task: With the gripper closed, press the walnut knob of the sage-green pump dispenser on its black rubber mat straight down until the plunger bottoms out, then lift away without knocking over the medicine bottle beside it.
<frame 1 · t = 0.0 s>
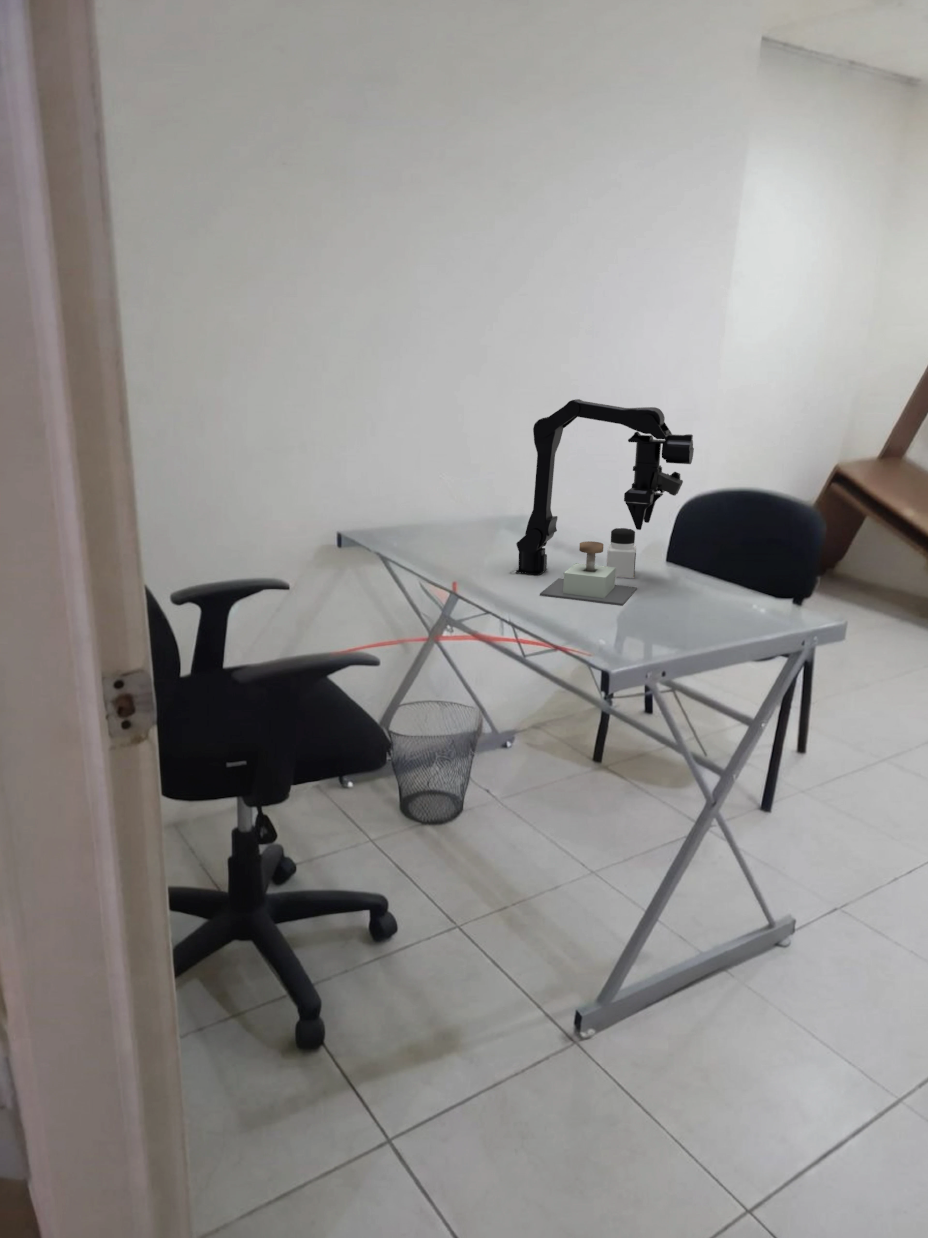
hand: (642, 525, 211), 15 cm above the table, tool pointing down, fingers open, 9 cm apart
press base: (589, 592, 208), on the table
plunger: (590, 557, 205), point 9 cm above the table, slide at 4.5 cm
medicine bottle: (620, 575, 224), on the table
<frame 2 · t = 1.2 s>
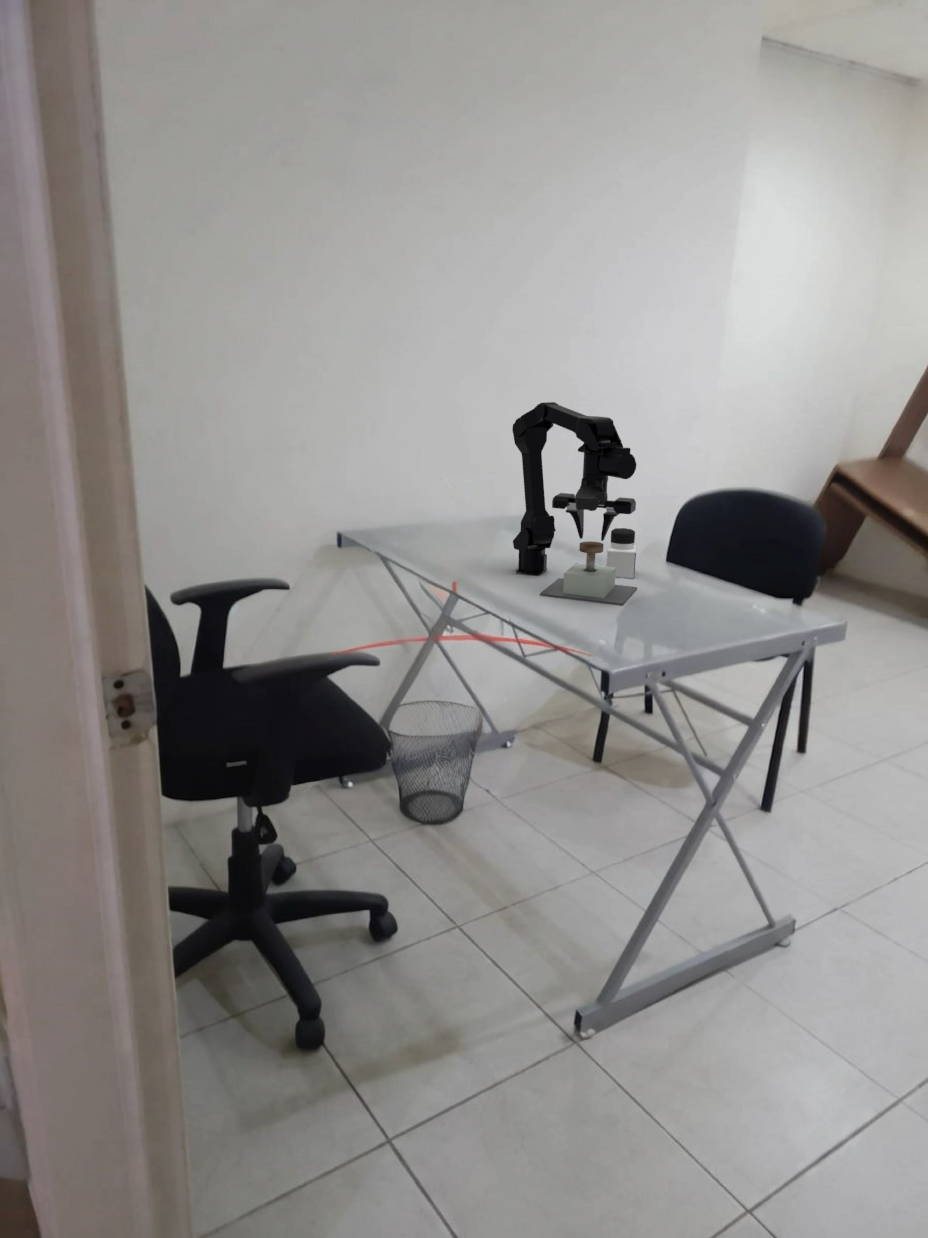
hand: (591, 539, 204), 13 cm above the table, tool pointing down, fingers open, 5 cm apart
nothing on the table moved.
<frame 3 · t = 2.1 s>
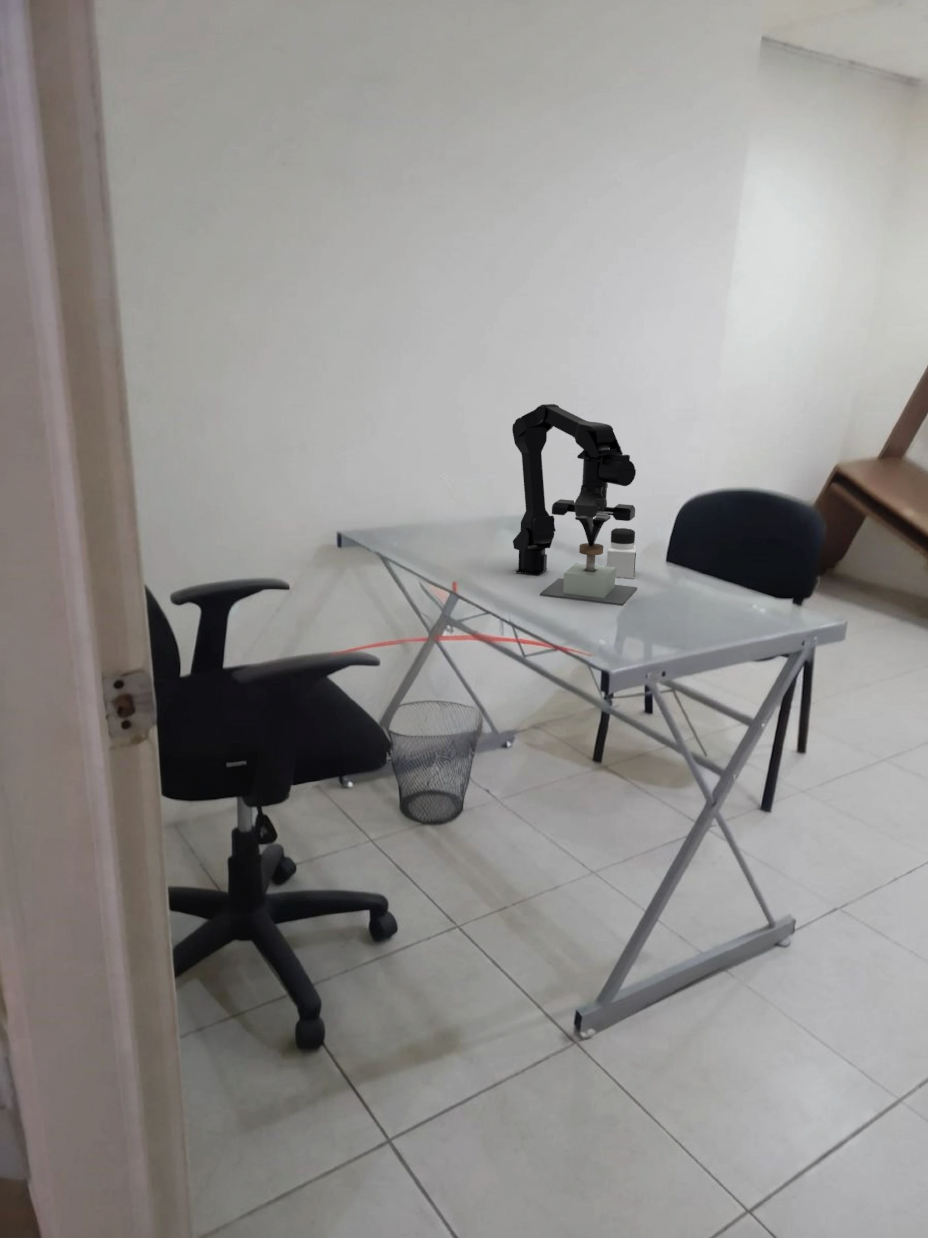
hand: (591, 545, 204), 11 cm above the table, tool pointing down, fingers closed, pressing on plunger
plunger: (590, 559, 205), point 8 cm above the table, slide at 4.1 cm, touching gripper
everything else where it was.
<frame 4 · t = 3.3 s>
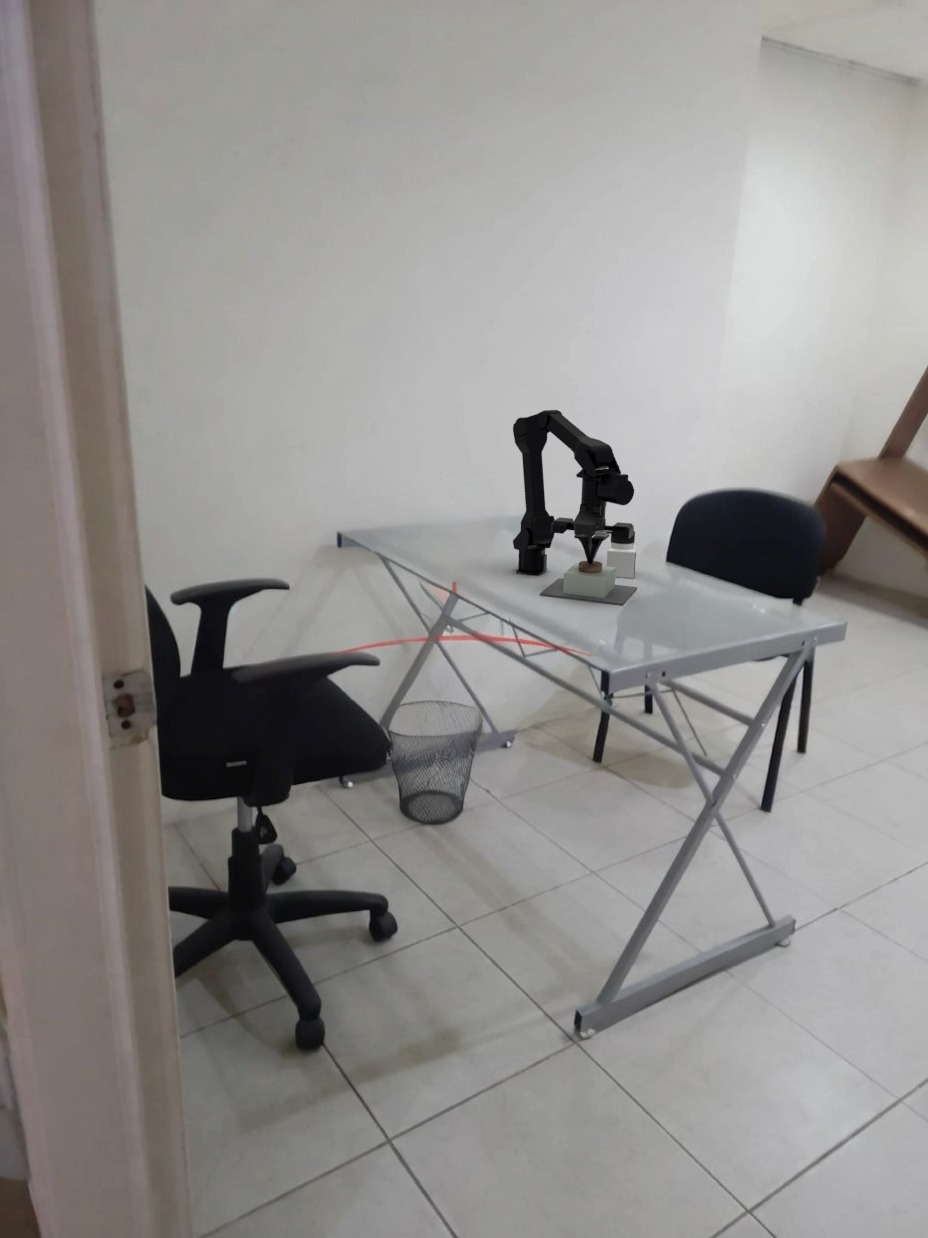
hand: (590, 563, 206), 7 cm above the table, tool pointing down, fingers closed, pressing on plunger
plunger: (589, 576, 207), point 4 cm above the table, slide at -0.3 cm, touching gripper
everything else where it was.
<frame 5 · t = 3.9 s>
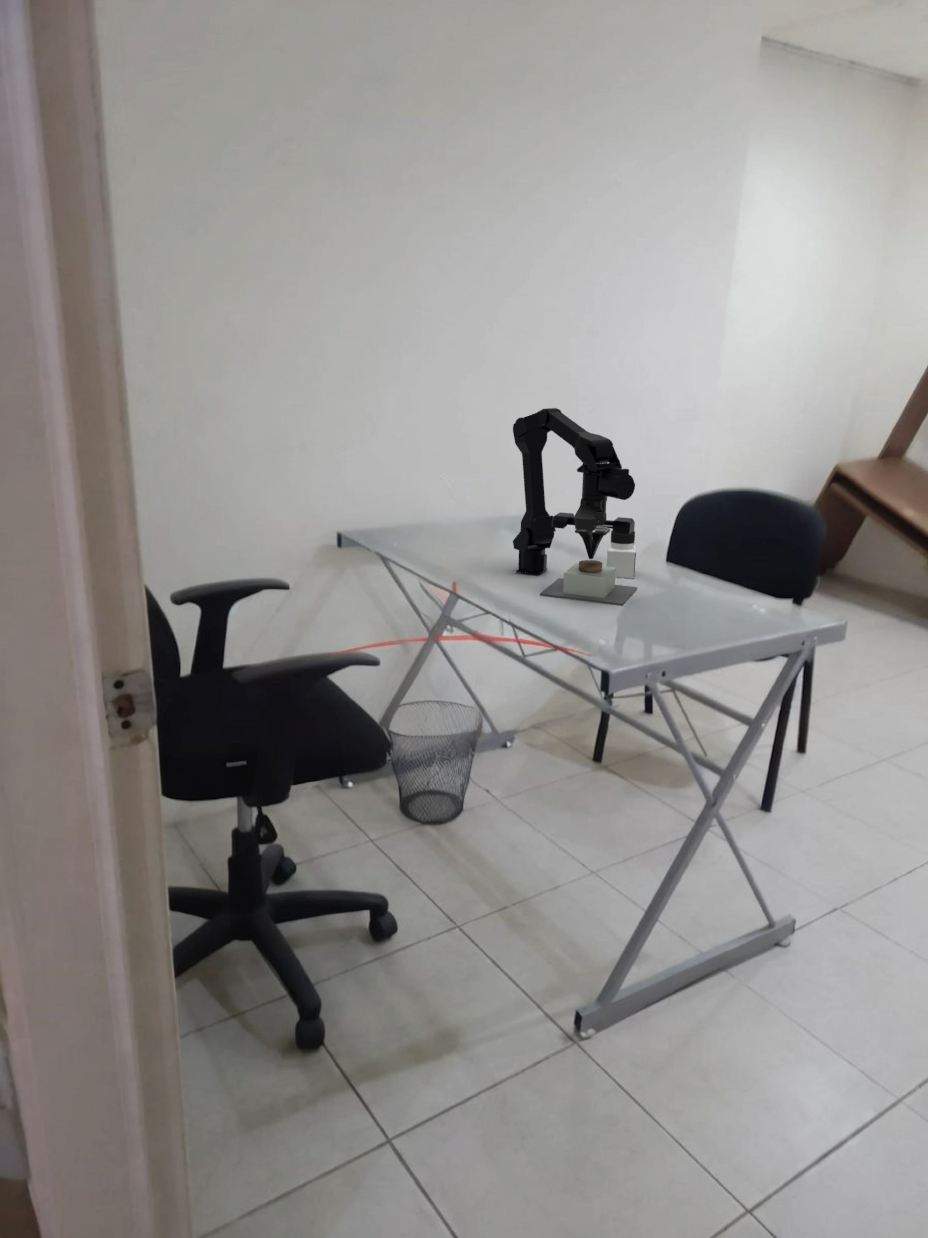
hand: (591, 558, 205), 8 cm above the table, tool pointing down, fingers closed
plunger: (589, 576, 207), point 4 cm above the table, slide at -0.1 cm
everything else where it was.
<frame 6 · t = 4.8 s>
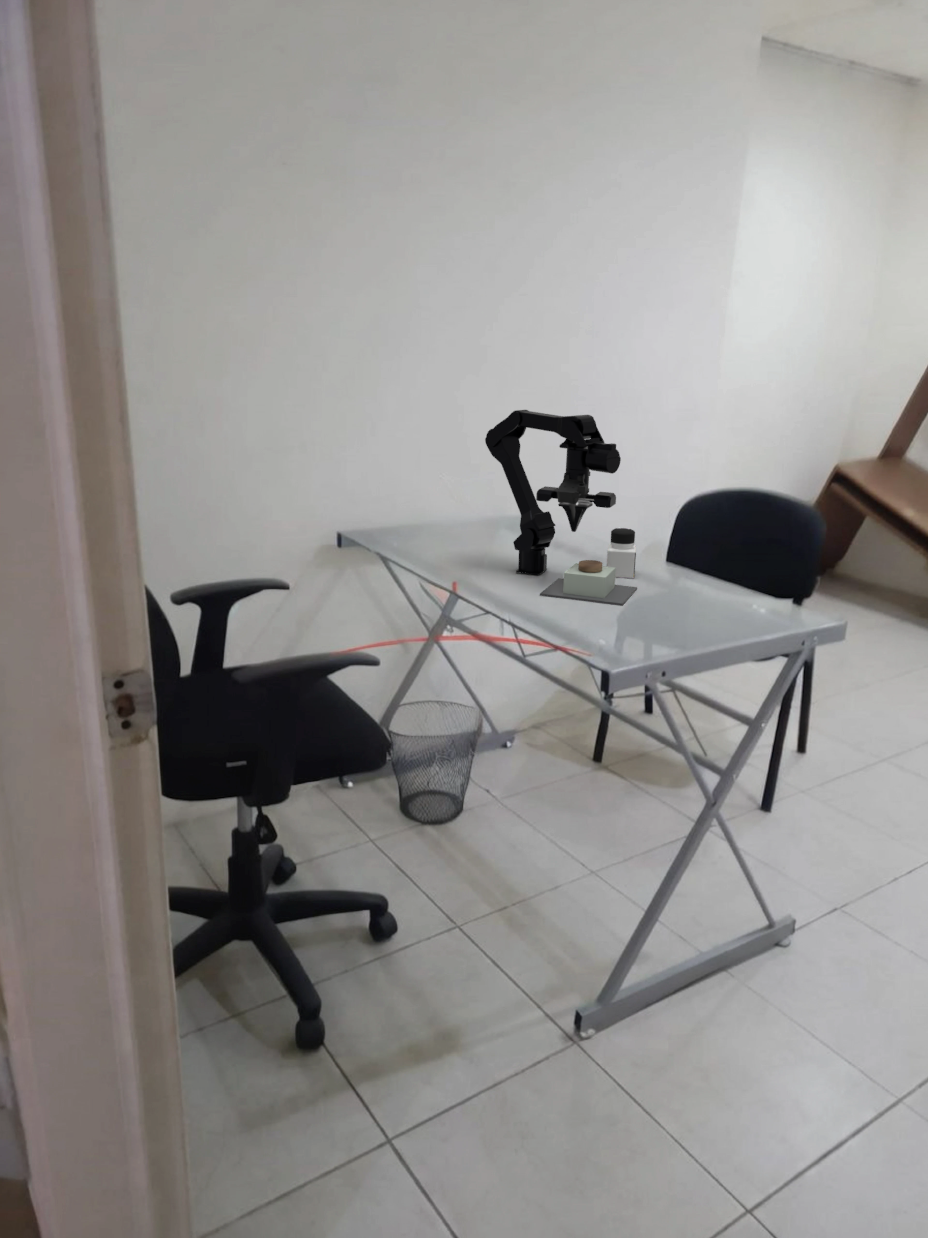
hand: (573, 531, 213), 13 cm above the table, tool pointing down, fingers closed
nothing on the table moved.
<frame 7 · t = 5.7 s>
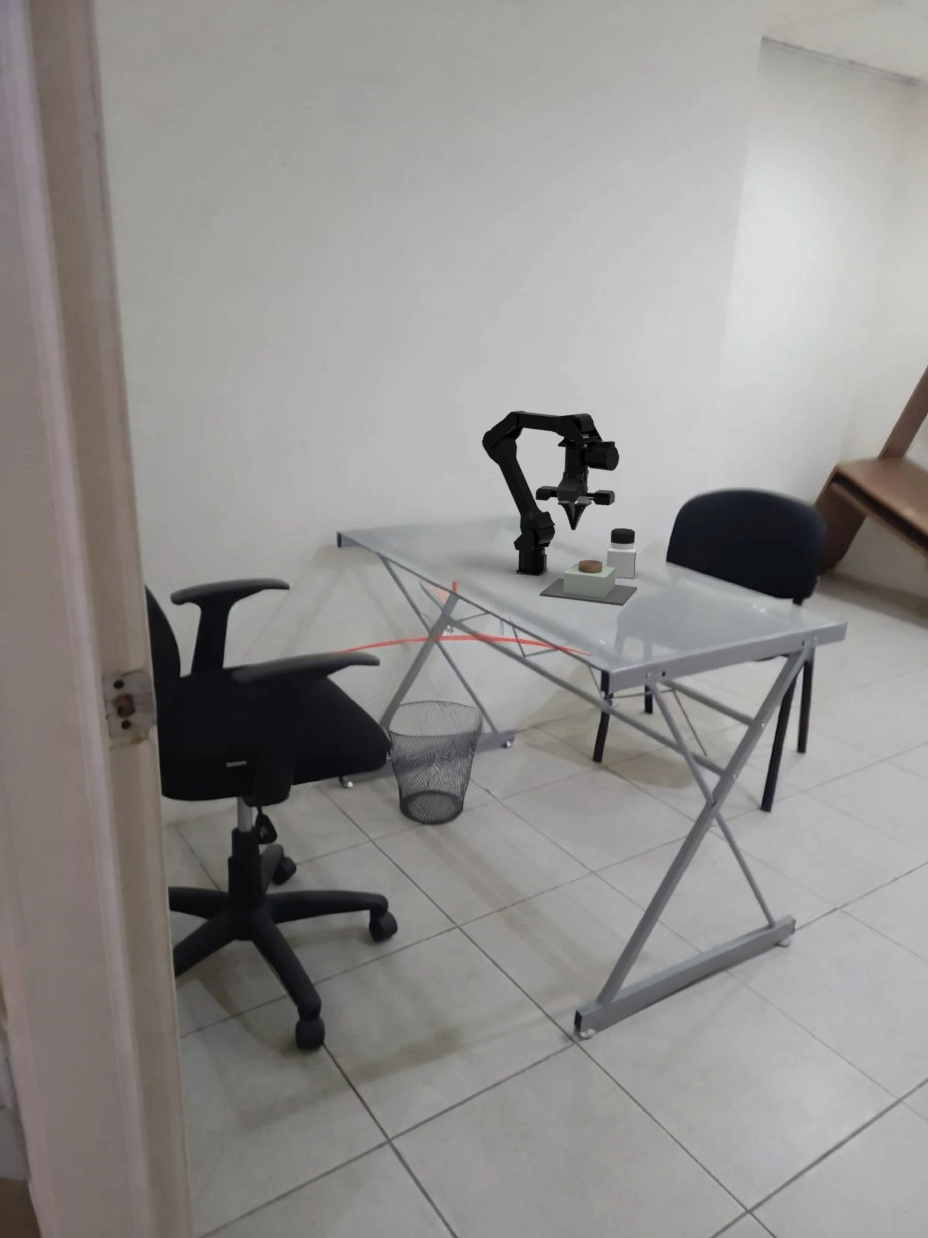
hand: (573, 529, 214), 13 cm above the table, tool pointing down, fingers closed
nothing on the table moved.
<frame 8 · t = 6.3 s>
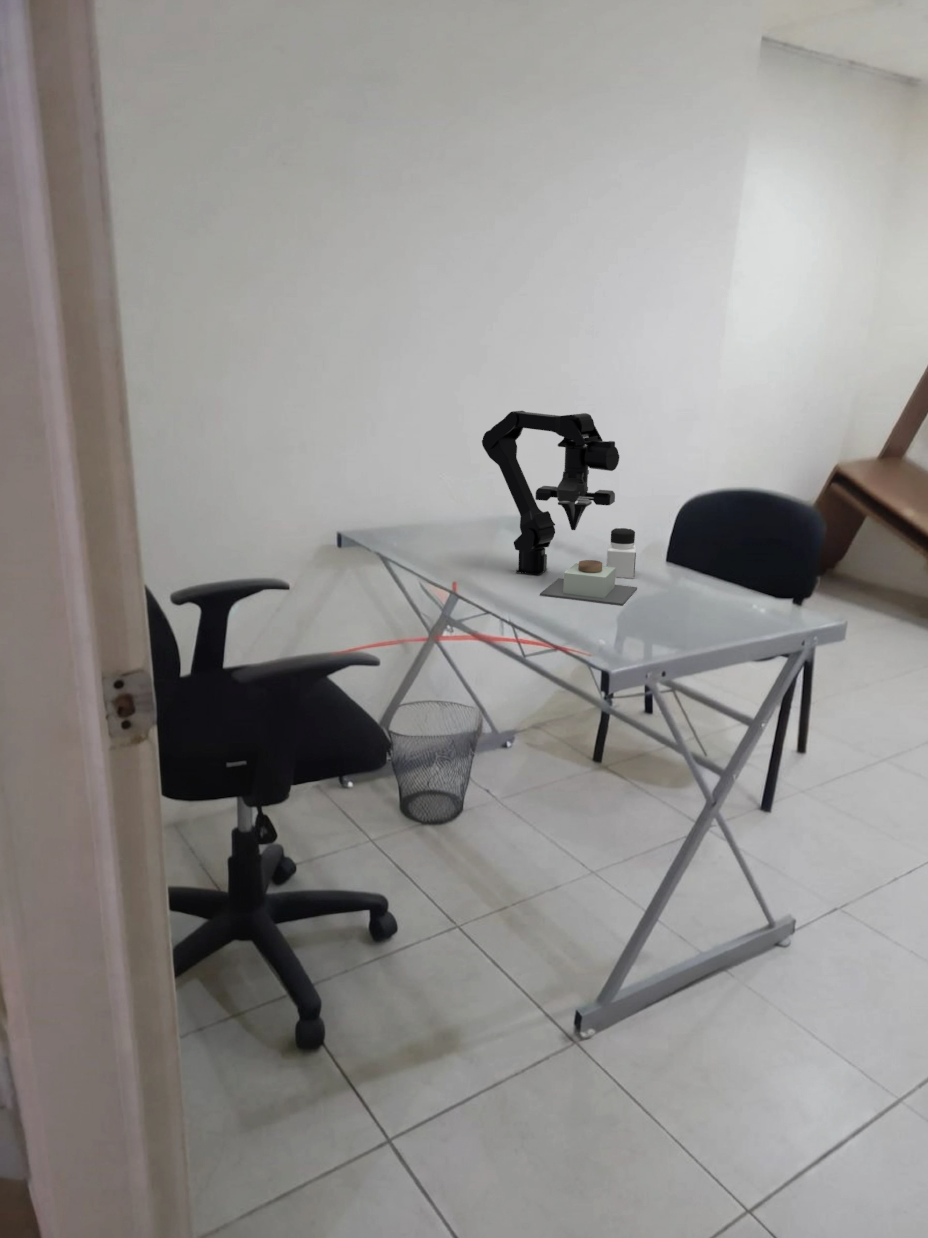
hand: (573, 529, 214), 13 cm above the table, tool pointing down, fingers closed
nothing on the table moved.
at the end: plunger slide at -0.1 cm; medicine bottle tilted 0°; medicine bottle moved 0.2 cm from its start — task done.
